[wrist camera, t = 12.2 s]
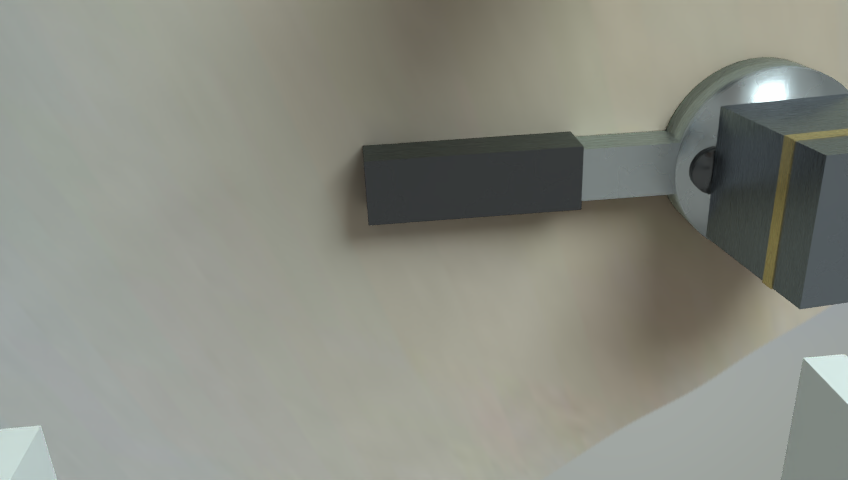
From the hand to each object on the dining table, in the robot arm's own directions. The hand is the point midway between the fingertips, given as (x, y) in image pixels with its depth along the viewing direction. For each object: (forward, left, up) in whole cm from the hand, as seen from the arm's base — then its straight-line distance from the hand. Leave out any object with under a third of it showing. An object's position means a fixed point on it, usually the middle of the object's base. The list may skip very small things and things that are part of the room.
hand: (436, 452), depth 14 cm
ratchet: (+12, -5, -29) cm, 32 cm away
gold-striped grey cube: (+20, -5, -26) cm, 33 cm away
